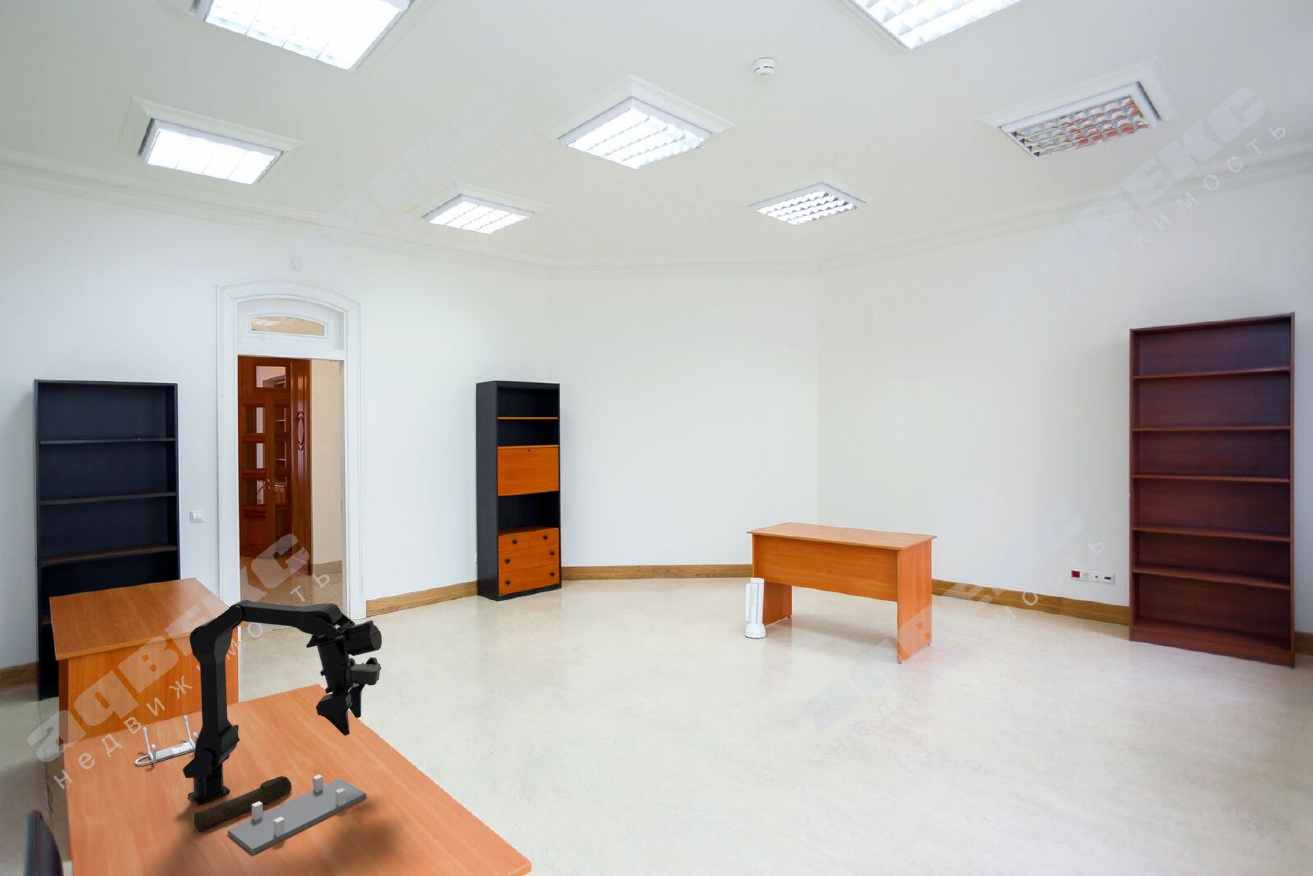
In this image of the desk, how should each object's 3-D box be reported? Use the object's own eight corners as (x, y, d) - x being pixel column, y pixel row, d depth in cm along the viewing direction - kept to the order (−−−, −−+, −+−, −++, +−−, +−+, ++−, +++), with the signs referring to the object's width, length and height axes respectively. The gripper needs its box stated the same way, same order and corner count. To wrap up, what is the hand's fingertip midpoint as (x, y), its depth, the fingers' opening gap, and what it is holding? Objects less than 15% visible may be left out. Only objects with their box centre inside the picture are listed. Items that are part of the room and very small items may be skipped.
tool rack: (227, 834, 142) (227, 815, 142) (339, 782, 162) (339, 765, 161) (252, 854, 136) (251, 834, 136) (366, 797, 155) (365, 780, 155)
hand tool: (198, 836, 142) (197, 814, 142) (192, 828, 145) (191, 807, 144) (296, 797, 156) (295, 777, 156) (289, 791, 159) (288, 771, 159)
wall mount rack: (138, 772, 167) (137, 749, 167) (129, 753, 177) (128, 730, 177) (213, 749, 178) (212, 727, 178) (200, 732, 188) (199, 711, 188)
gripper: (360, 664, 148) (379, 733, 149) (381, 637, 167) (398, 699, 168) (306, 679, 147) (325, 749, 148) (334, 650, 165) (350, 713, 166)
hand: (353, 726), depth 157 cm, fingers open, 9 cm apart
